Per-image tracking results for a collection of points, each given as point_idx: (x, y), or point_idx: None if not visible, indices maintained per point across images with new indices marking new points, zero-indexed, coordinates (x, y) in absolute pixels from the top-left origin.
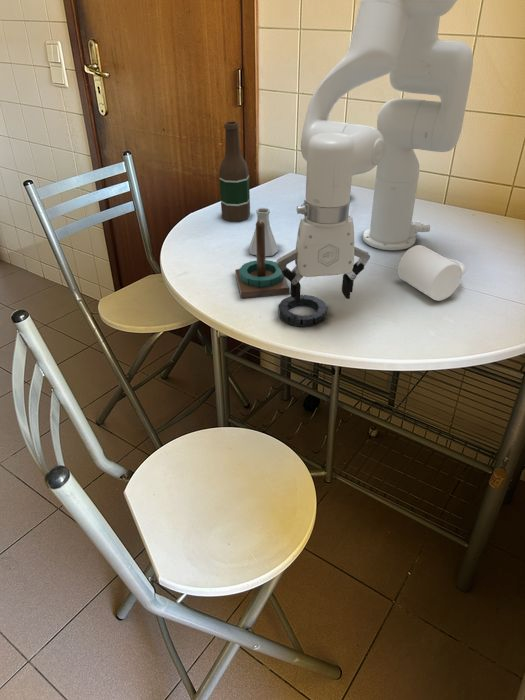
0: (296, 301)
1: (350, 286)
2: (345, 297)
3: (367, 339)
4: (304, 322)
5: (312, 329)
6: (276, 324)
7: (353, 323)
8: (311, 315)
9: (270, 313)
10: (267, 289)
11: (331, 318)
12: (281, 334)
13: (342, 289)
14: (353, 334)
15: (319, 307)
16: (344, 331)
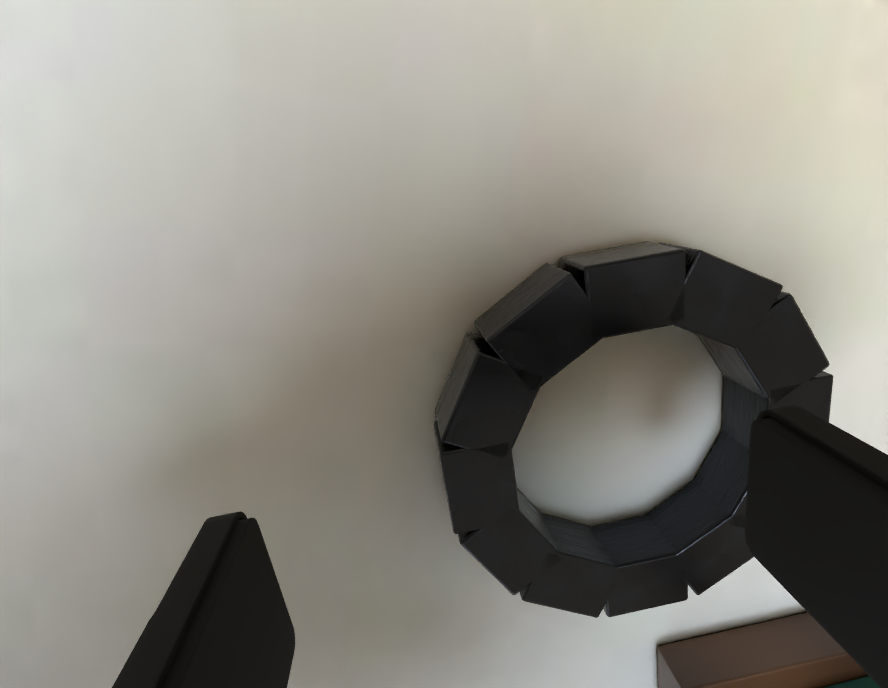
0: (808, 413)
1: (136, 654)
2: (256, 531)
3: (76, 16)
4: (652, 250)
5: (570, 210)
6: (821, 285)
7: (217, 297)
8: (594, 324)
9: None
10: (833, 657)
11: (400, 369)
12: (821, 142)
13: (283, 652)
14: (219, 116)
15: (506, 451)
16: (301, 171)
